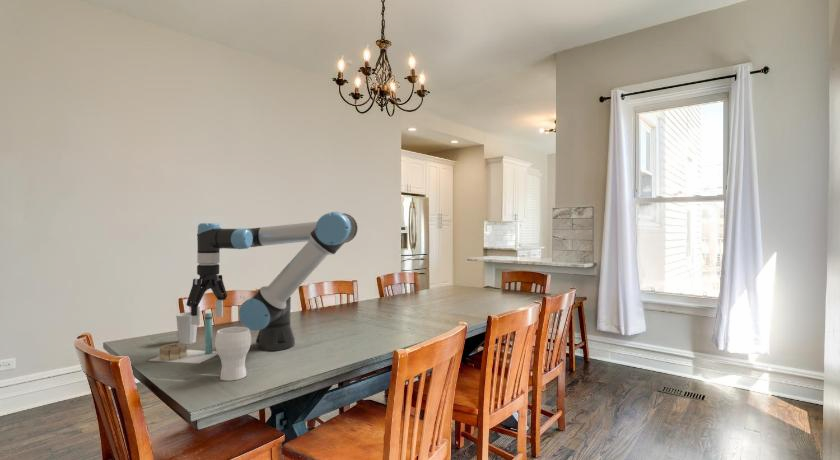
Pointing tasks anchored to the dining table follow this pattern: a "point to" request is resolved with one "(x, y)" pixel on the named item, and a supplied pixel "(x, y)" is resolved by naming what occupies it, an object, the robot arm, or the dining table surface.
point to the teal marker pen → (208, 333)
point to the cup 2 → (233, 351)
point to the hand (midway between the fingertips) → (207, 320)
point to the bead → (173, 351)
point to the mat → (191, 357)
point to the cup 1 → (186, 328)
